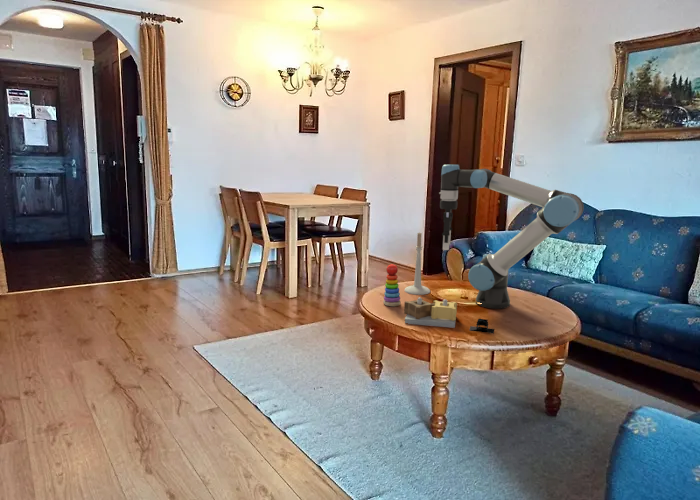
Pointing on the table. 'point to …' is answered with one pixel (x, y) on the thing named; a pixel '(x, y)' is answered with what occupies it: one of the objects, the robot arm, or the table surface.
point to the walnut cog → (418, 309)
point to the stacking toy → (392, 287)
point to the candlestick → (418, 273)
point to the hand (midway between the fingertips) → (446, 247)
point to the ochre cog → (444, 310)
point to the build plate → (482, 329)
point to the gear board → (430, 319)
